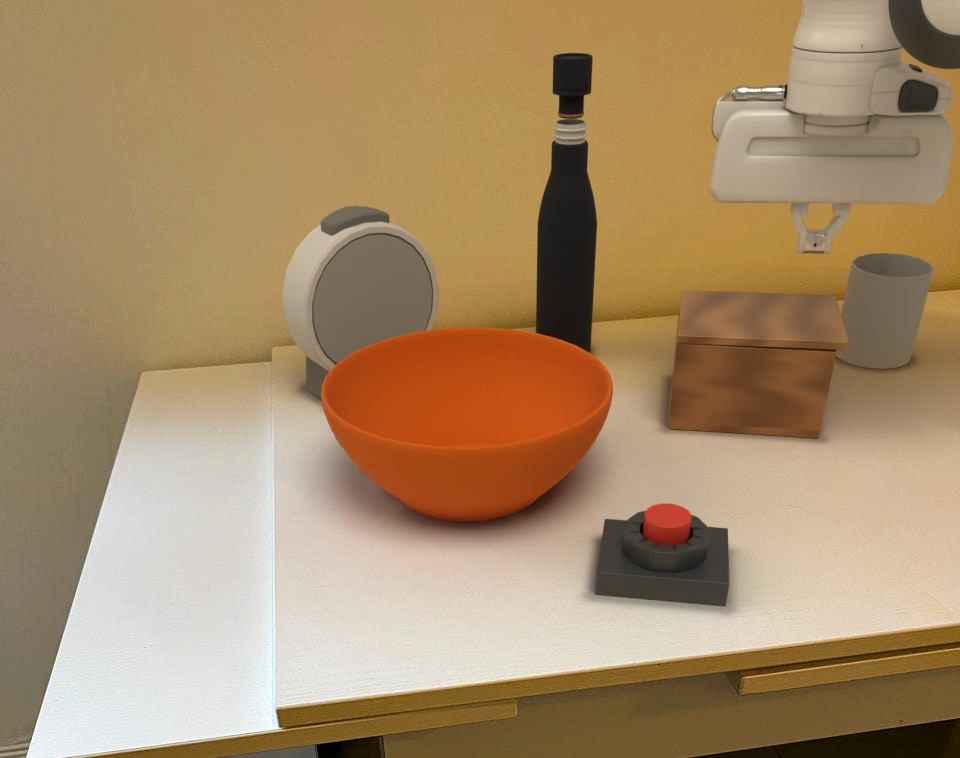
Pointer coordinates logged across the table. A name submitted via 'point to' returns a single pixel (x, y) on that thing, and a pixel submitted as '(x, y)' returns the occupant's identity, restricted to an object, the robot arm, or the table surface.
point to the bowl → (467, 416)
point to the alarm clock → (356, 288)
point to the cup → (884, 309)
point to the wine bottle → (568, 215)
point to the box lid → (761, 320)
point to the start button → (667, 524)
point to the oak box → (750, 389)
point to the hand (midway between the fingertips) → (812, 252)
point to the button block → (663, 564)
